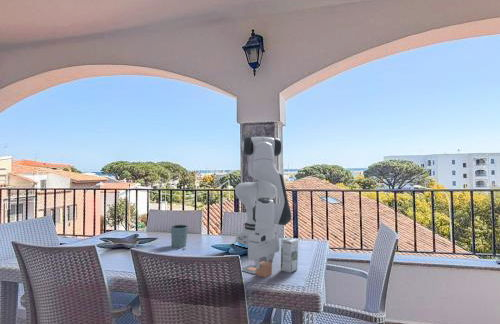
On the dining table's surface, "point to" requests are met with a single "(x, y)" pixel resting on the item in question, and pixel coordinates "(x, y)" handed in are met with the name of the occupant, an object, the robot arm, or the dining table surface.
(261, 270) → the terracotta block
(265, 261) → the grey block
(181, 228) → the green cup
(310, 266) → the dining table surface
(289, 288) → the dining table surface
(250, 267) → the board
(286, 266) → the syrup box
